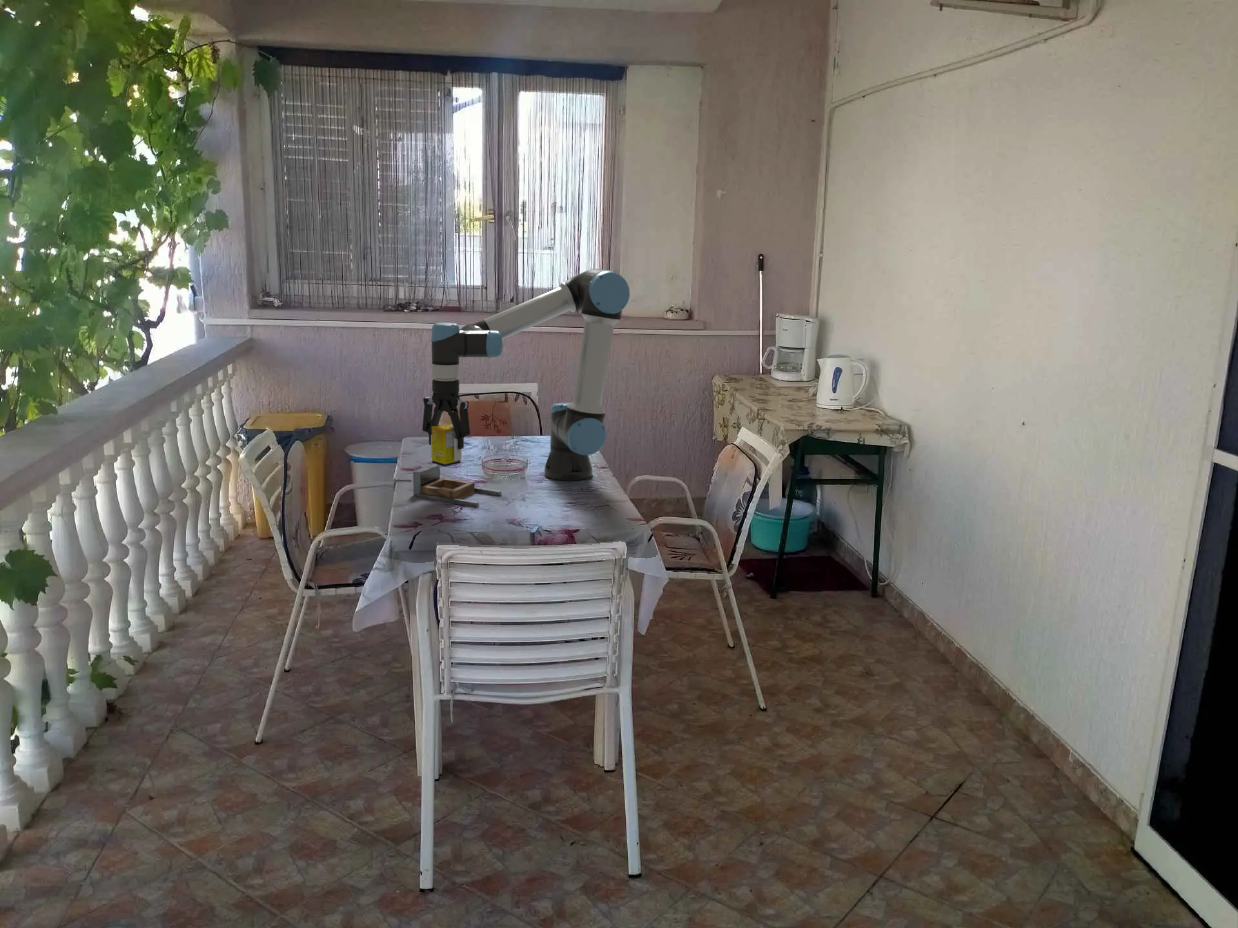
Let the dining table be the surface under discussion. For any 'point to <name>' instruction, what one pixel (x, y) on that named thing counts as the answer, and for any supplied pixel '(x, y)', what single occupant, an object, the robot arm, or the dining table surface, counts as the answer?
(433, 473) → the track
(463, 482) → the tray
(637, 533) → the dining table surface
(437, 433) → the supplement box
